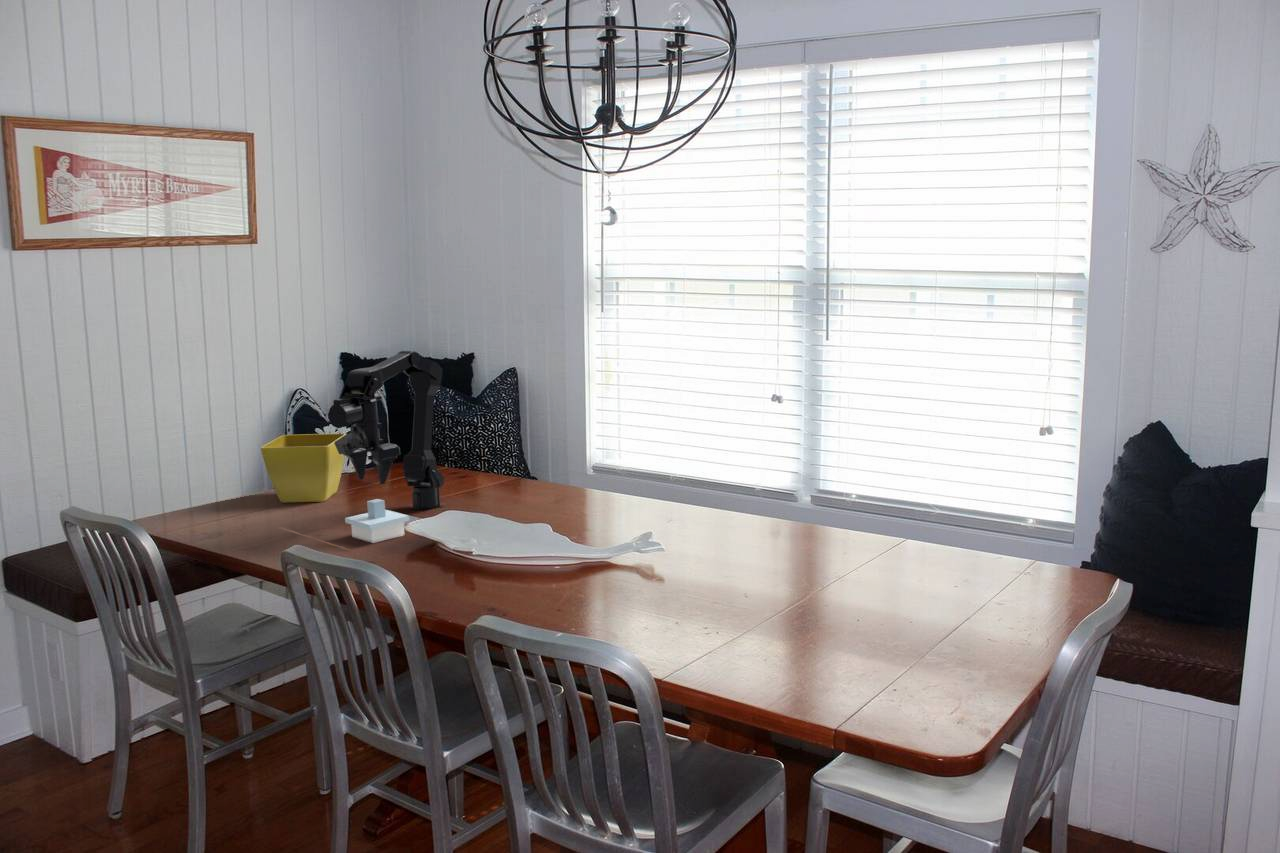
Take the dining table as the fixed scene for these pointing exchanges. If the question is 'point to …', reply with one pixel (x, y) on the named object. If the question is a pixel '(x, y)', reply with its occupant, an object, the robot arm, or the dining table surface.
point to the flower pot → (304, 466)
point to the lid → (376, 516)
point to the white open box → (378, 532)
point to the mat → (411, 519)
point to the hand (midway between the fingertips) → (371, 481)
